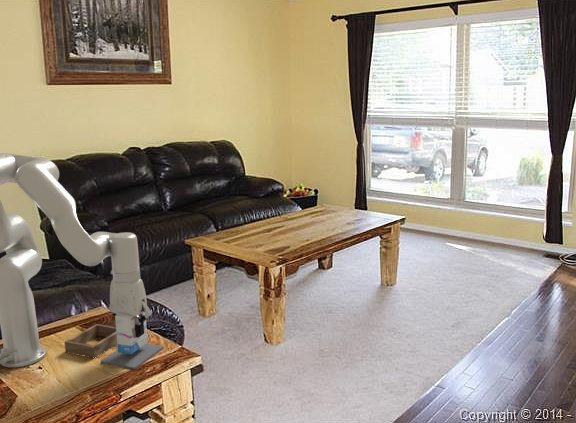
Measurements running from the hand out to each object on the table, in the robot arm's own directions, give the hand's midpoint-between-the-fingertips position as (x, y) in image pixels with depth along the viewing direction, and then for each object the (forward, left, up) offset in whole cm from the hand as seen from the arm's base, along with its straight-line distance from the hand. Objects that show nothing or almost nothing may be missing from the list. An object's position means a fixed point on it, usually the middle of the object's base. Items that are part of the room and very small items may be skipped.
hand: (131, 333), depth 164 cm
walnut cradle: (+1, +15, -7) cm, 16 cm away
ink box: (0, 0, -5) cm, 5 cm away
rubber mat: (-1, 0, -7) cm, 7 cm away
